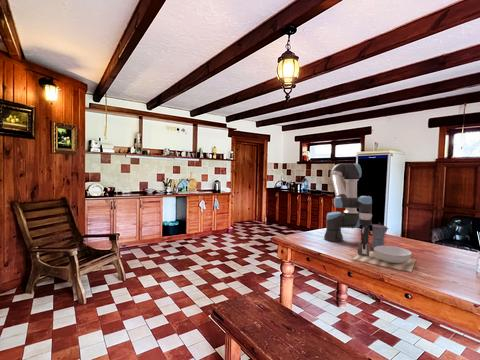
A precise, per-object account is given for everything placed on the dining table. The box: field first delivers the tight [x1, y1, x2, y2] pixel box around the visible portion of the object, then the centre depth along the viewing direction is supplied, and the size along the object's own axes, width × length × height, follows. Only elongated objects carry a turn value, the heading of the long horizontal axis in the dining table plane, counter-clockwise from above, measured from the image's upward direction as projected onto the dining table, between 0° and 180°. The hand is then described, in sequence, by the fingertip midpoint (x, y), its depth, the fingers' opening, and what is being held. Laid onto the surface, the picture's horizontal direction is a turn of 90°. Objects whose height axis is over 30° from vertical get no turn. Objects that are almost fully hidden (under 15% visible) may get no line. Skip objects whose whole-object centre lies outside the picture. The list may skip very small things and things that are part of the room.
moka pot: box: [368, 222, 389, 250], centre depth 190 cm, size 10×15×20 cm, turn 39°
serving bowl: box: [373, 245, 413, 263], centre depth 162 cm, size 21×21×7 cm
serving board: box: [352, 242, 417, 273], centre depth 165 cm, size 32×25×9 cm
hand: (364, 253), depth 172 cm, fingers closed on serving board, 2 cm apart
